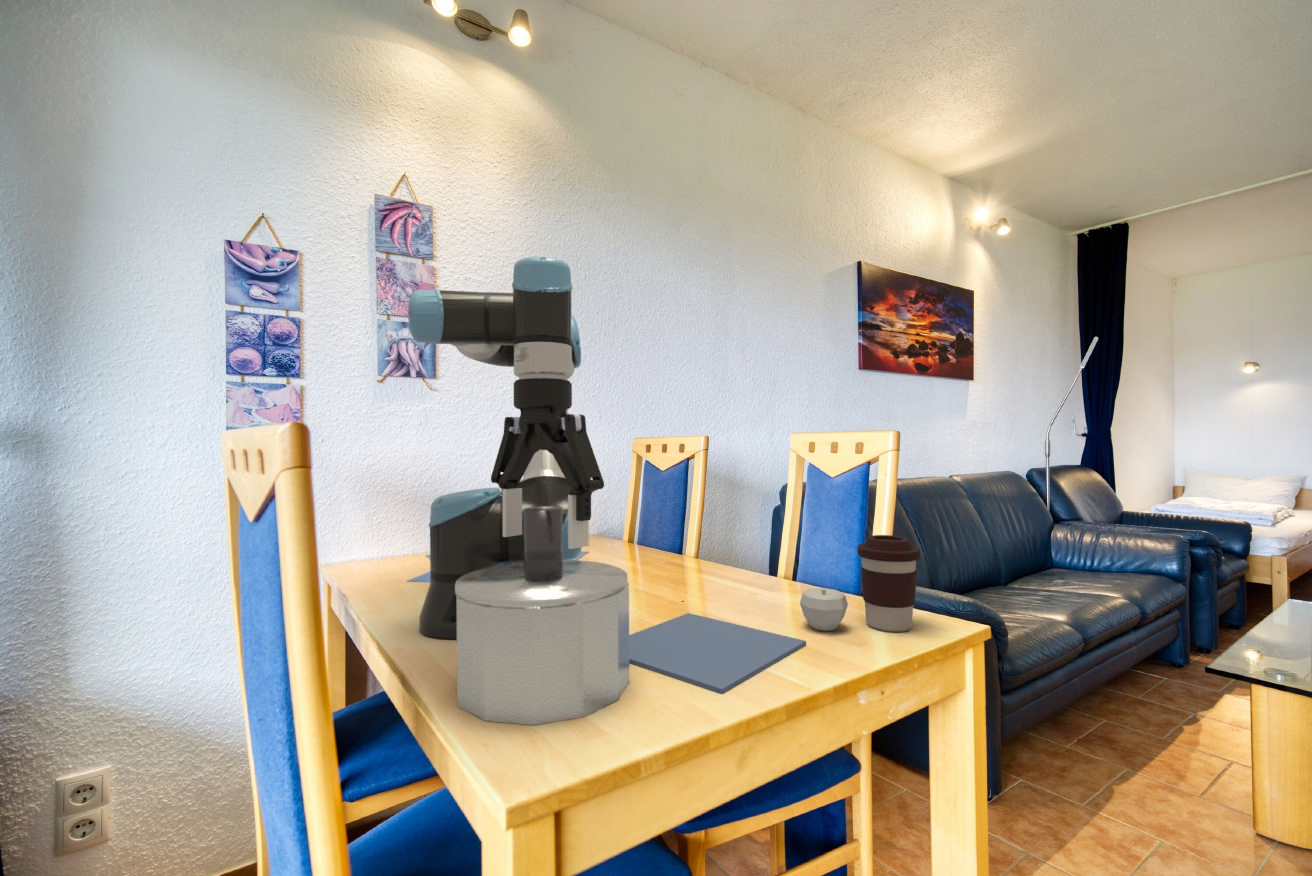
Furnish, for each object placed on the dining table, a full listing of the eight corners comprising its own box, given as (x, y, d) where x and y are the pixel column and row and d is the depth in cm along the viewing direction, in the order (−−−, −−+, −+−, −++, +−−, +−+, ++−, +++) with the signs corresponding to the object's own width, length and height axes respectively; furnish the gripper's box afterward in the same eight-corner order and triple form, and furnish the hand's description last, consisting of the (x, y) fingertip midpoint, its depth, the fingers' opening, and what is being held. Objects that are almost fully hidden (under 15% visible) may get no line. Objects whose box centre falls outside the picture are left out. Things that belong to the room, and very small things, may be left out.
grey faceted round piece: (852, 637, 95) (851, 596, 95) (801, 634, 97) (801, 594, 97) (844, 621, 103) (844, 584, 103) (798, 619, 104) (797, 582, 105)
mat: (595, 651, 89) (595, 647, 89) (688, 616, 107) (688, 612, 107) (722, 693, 74) (722, 689, 74) (806, 644, 92) (806, 640, 92)
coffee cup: (927, 637, 95) (926, 543, 95) (862, 633, 97) (861, 542, 97) (913, 618, 105) (912, 534, 105) (854, 615, 107) (853, 532, 107)
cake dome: (422, 688, 76) (421, 510, 76) (555, 643, 93) (554, 496, 93) (527, 745, 62) (526, 526, 62) (662, 679, 79) (661, 506, 79)
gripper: (465, 383, 83) (465, 534, 83) (586, 369, 67) (587, 557, 67) (510, 386, 89) (510, 528, 89) (632, 374, 72) (632, 547, 72)
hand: (543, 541), depth 78 cm, fingers open, 13 cm apart
